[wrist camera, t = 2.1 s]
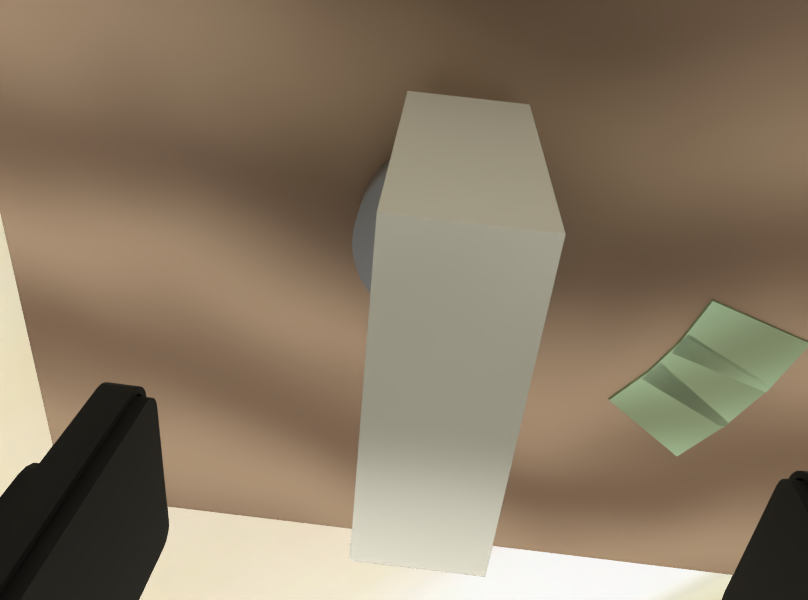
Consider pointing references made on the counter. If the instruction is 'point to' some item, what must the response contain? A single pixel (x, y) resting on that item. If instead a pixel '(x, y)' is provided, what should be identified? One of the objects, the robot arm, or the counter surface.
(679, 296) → the dial board
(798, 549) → the robot arm
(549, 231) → the knob
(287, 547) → the counter surface
